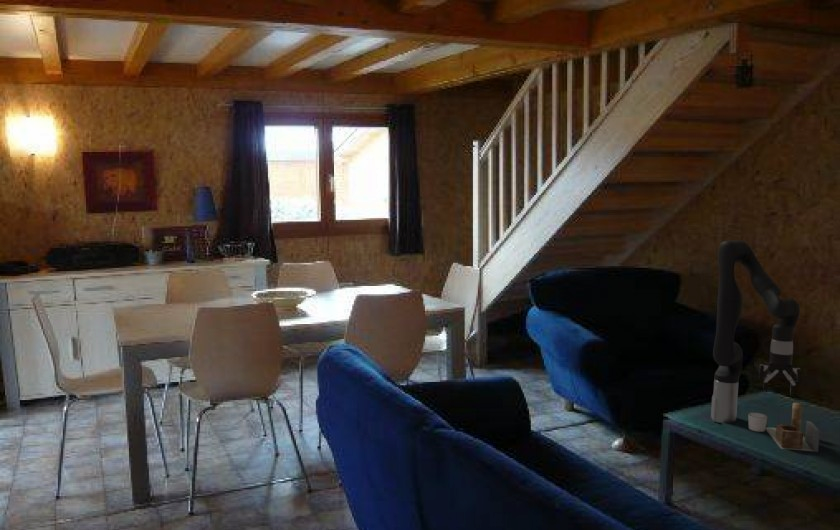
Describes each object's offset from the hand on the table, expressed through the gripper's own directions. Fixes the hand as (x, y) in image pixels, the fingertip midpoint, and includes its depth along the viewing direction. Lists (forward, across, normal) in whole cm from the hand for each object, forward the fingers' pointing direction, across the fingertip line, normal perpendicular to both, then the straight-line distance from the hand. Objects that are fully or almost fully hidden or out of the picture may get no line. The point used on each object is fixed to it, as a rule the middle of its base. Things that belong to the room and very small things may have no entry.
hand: (778, 393), depth 261 cm
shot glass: (+20, -6, +9) cm, 22 cm away
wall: (+18, +12, -3) cm, 22 cm away
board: (+19, +5, +3) cm, 20 cm away
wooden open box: (+18, +4, -4) cm, 19 cm away
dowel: (+18, +8, +10) cm, 22 cm away
